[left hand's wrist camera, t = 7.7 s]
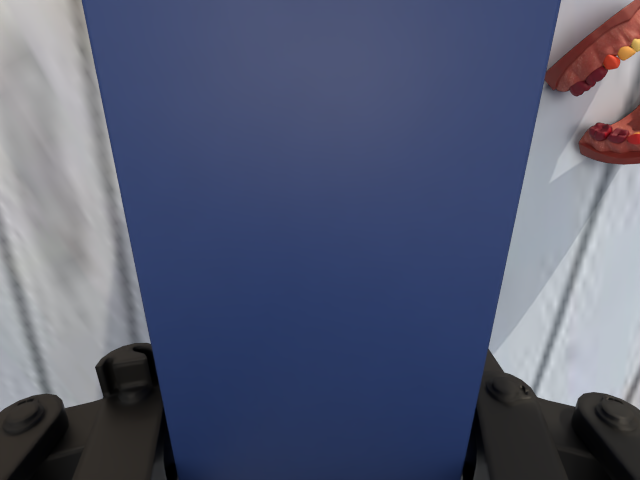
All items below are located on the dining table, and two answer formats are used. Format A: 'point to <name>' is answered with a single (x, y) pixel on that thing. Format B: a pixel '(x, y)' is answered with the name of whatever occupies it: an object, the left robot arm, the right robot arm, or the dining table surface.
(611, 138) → the dental model
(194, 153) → the bar
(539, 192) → the dining table surface
